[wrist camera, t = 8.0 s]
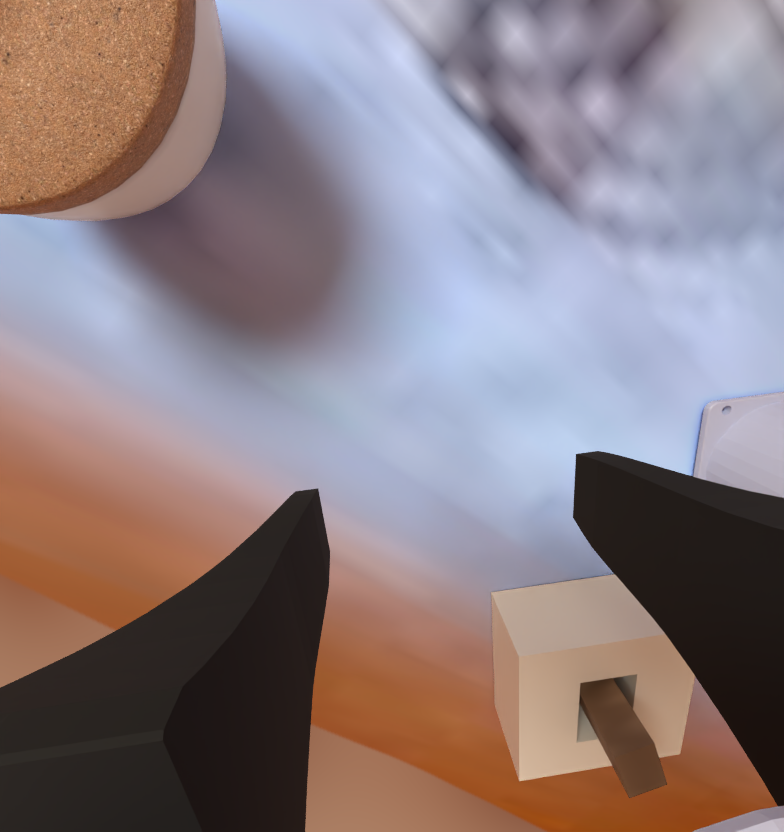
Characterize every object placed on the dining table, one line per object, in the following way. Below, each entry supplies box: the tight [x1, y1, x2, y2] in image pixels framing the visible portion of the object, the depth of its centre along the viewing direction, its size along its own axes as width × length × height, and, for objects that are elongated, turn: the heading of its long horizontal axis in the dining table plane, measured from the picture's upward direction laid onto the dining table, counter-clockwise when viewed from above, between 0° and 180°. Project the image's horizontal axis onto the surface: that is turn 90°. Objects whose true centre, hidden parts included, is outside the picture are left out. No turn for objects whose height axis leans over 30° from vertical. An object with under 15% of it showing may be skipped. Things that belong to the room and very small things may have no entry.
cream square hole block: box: [491, 574, 695, 781], centre depth 24 cm, size 10×10×4 cm
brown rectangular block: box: [579, 678, 667, 798], centre depth 23 cm, size 2×4×7 cm, turn 23°
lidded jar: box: [0, 0, 227, 221], centre depth 11 cm, size 11×11×9 cm
